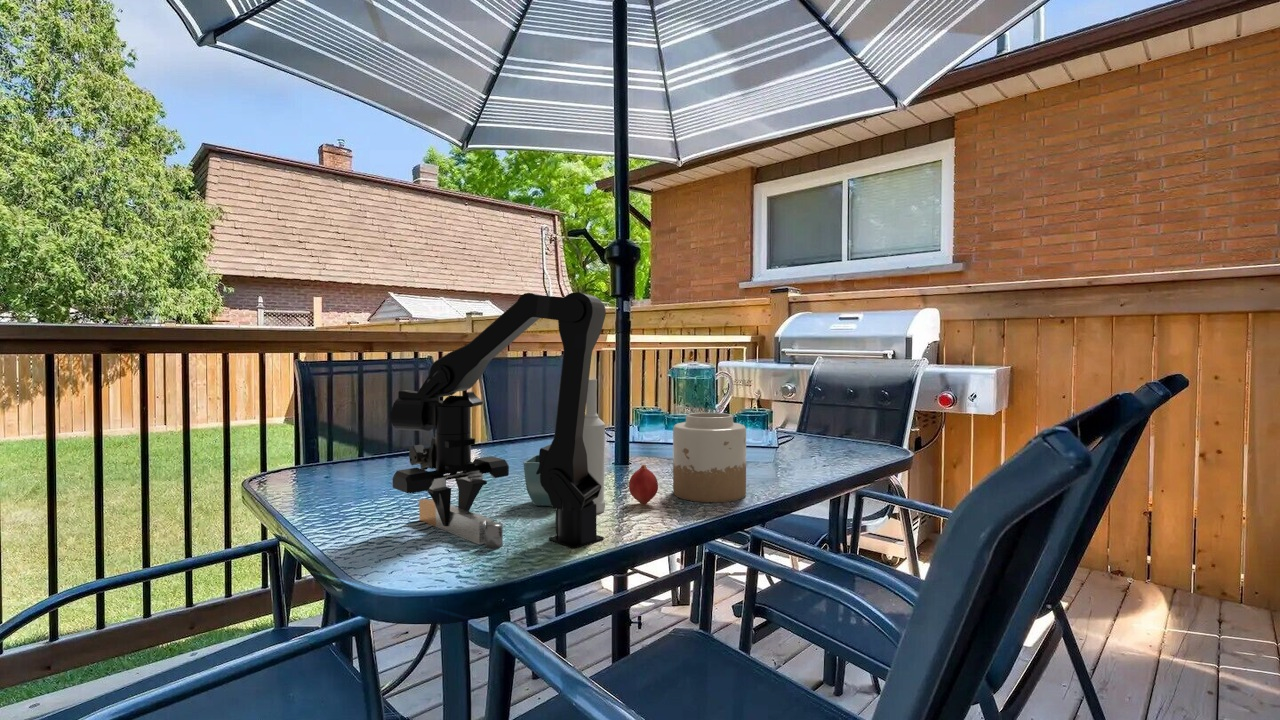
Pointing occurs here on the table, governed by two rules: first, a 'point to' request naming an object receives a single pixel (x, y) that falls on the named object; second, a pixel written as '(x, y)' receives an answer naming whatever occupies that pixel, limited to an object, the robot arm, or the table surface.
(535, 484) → the flower pot
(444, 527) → the tong arm
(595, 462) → the bottle
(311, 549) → the table surface
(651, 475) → the onion
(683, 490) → the vase
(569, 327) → the robot arm
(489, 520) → the base
